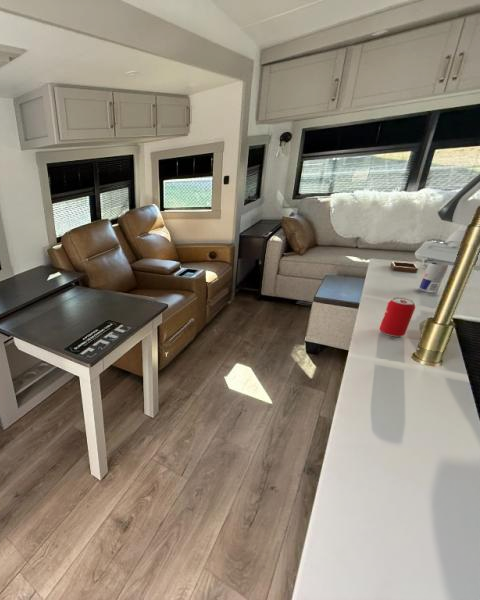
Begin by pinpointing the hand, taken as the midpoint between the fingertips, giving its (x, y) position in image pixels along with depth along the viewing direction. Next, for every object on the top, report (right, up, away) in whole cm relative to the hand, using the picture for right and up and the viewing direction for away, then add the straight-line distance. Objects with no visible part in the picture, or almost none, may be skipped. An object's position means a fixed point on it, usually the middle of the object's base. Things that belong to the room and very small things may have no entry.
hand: (437, 271), depth 127 cm
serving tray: (+12, +4, +25) cm, 28 cm away
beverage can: (-41, -23, -22) cm, 52 cm away
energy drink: (-1, -8, +3) cm, 8 cm away
